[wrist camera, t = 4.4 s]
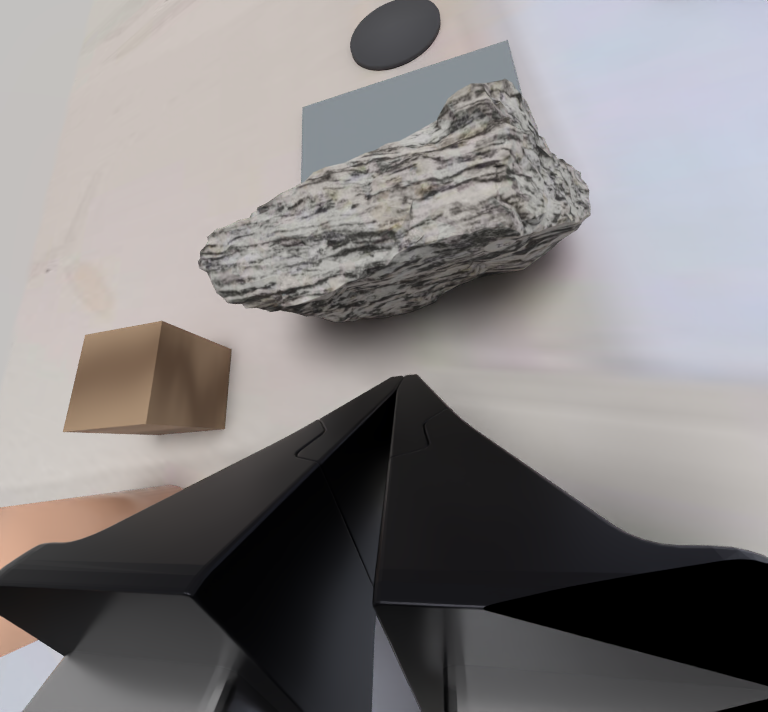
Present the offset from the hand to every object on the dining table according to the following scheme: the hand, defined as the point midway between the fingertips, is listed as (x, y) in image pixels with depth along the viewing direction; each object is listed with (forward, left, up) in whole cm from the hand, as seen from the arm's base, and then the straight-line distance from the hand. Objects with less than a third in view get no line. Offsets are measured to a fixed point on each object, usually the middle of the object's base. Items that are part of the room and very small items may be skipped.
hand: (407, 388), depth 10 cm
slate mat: (+17, +5, -7) cm, 19 cm away
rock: (+8, +2, -7) cm, 10 cm away
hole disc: (+28, +7, -7) cm, 30 cm away
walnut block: (-1, +15, -7) cm, 16 cm away
